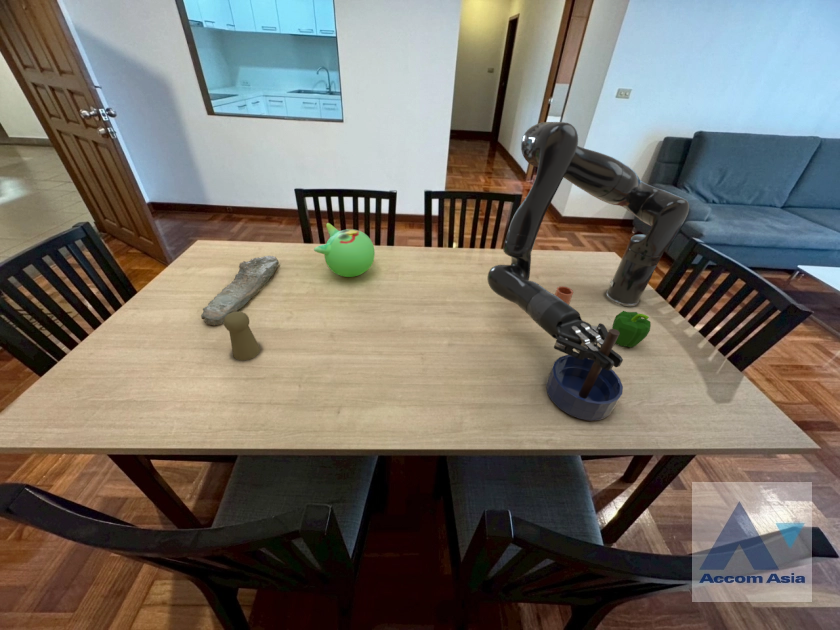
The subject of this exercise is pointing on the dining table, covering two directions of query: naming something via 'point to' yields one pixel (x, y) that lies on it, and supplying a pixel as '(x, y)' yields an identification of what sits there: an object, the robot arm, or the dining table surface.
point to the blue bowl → (569, 382)
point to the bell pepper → (631, 328)
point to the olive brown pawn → (241, 336)
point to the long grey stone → (240, 289)
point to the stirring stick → (595, 367)
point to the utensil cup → (564, 294)
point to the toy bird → (347, 251)
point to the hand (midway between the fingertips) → (615, 365)
